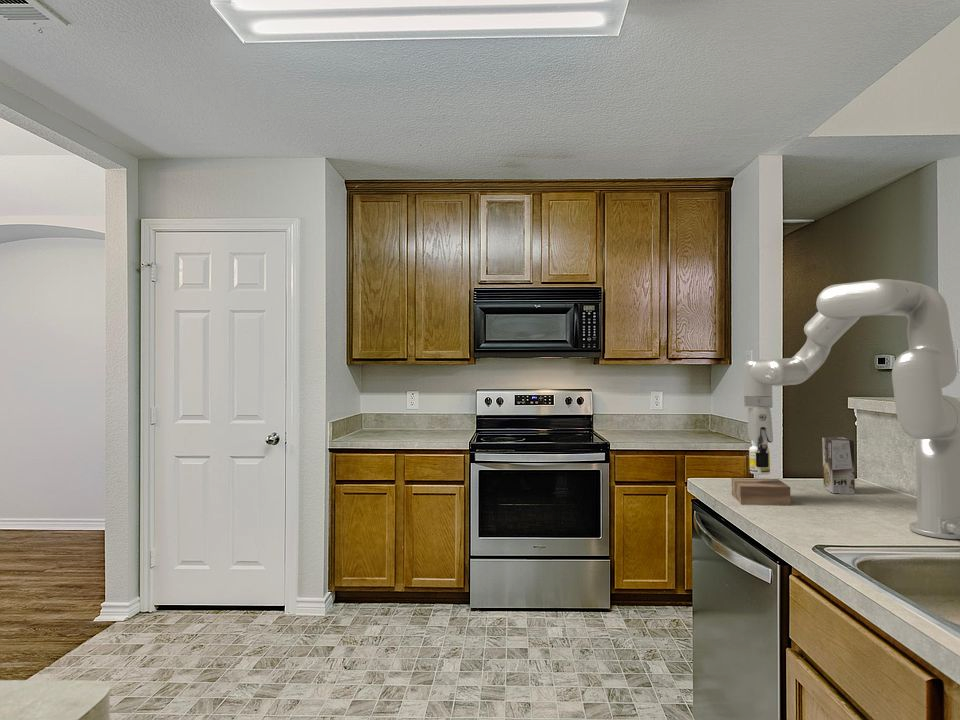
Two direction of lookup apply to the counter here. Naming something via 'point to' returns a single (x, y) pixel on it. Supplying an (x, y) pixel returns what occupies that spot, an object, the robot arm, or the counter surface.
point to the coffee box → (838, 465)
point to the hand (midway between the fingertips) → (759, 464)
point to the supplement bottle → (752, 461)
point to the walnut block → (761, 491)
